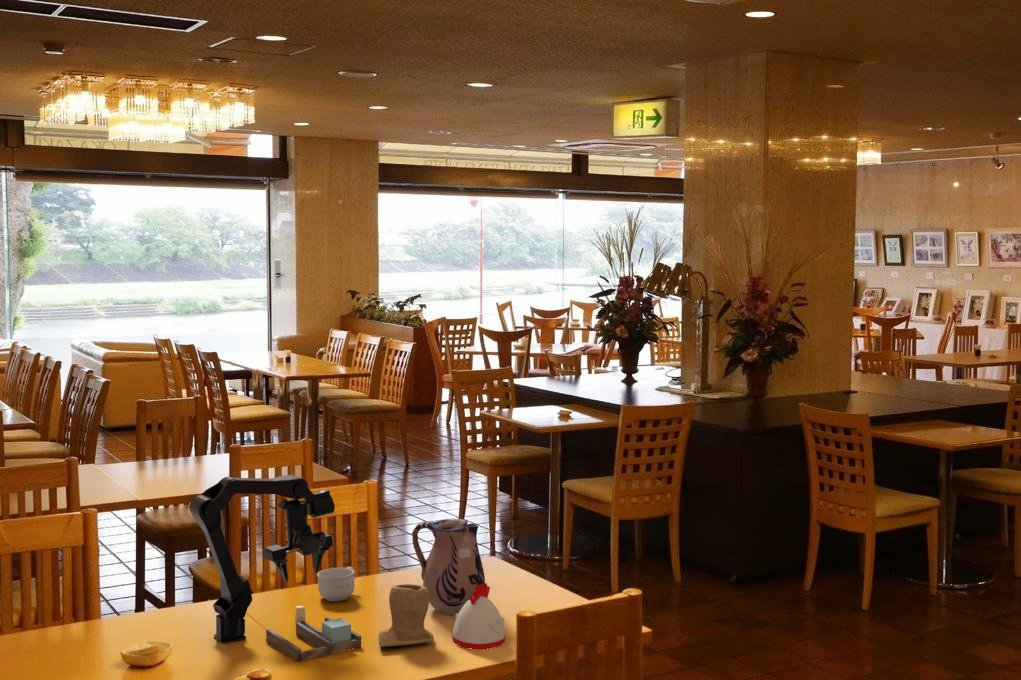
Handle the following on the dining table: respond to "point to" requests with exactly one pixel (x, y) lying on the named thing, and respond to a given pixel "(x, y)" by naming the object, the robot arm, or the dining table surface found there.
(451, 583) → the ceramic pitcher
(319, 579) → the teacup
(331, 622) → the mallet
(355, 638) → the lane rack
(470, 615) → the kitchen timer
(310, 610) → the dining table surface
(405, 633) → the stone cup
